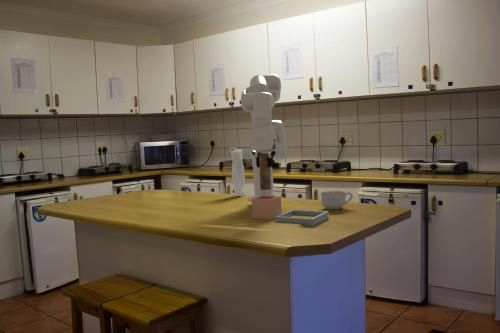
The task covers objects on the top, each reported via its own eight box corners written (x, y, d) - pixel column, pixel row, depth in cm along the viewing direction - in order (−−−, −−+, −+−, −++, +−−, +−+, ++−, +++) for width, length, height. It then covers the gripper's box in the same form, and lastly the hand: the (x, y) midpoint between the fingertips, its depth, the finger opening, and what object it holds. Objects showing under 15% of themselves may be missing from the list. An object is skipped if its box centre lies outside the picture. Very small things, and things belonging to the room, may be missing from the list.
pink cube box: (252, 220, 196) (251, 198, 195) (263, 216, 204) (261, 195, 203) (271, 221, 191) (270, 199, 191) (281, 217, 199) (280, 196, 198)
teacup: (318, 210, 211) (317, 192, 210) (325, 206, 220) (325, 189, 220) (348, 211, 204) (348, 193, 204) (355, 207, 214) (354, 189, 213)
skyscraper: (233, 197, 263) (230, 147, 261) (230, 195, 270) (227, 146, 268) (247, 196, 265) (244, 146, 263) (243, 194, 272) (241, 146, 270)
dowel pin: (258, 189, 196) (256, 153, 195) (263, 188, 200) (262, 152, 199) (268, 189, 194) (266, 153, 192) (273, 188, 198) (271, 152, 196)
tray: (275, 223, 186) (275, 216, 186) (292, 216, 200) (292, 209, 200) (313, 226, 178) (313, 219, 178) (328, 218, 192) (328, 211, 192)
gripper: (240, 124, 195) (242, 168, 197) (276, 122, 187) (279, 168, 188) (249, 123, 202) (251, 166, 203) (285, 121, 193) (287, 166, 195)
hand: (264, 166), depth 196 cm, fingers closed on dowel pin, 4 cm apart
